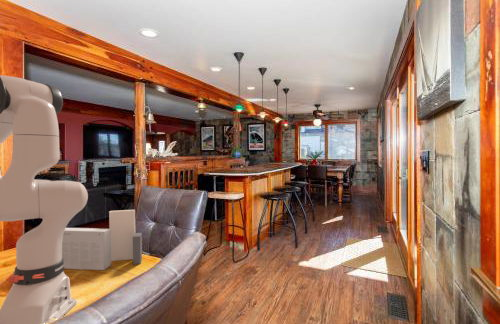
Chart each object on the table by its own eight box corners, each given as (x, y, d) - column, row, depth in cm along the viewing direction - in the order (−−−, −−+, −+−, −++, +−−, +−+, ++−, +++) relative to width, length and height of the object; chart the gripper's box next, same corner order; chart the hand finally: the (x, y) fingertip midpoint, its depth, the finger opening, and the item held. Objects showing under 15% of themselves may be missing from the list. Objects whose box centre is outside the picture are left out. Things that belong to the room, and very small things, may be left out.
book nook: (140, 263, 118) (139, 213, 117) (106, 267, 115) (105, 214, 114) (142, 257, 126) (142, 209, 125) (110, 260, 122) (109, 210, 121)
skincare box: (112, 265, 117) (111, 228, 116) (104, 270, 111) (103, 232, 111) (66, 263, 119) (65, 226, 118) (56, 268, 113) (55, 230, 113)
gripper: (-3, 182, 97) (42, 181, 101) (27, 177, 117) (64, 176, 121) (-3, 200, 98) (42, 198, 101) (27, 192, 117) (64, 191, 121)
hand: (54, 186), depth 111 cm, fingers open, 8 cm apart
